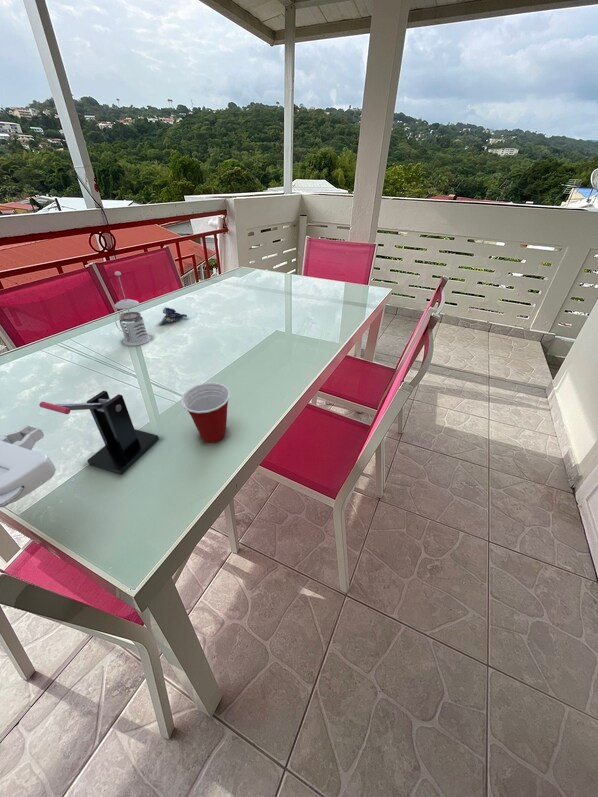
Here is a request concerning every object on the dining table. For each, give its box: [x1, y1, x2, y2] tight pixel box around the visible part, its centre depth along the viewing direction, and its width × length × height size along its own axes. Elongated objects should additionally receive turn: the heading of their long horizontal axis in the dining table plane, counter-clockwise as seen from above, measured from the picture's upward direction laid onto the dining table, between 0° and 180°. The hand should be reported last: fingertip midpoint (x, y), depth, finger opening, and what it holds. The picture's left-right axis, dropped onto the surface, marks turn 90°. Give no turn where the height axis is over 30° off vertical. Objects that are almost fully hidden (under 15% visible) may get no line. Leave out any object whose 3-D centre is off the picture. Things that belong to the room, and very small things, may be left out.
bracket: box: [86, 390, 159, 475], centre depth 71 cm, size 12×9×15 cm
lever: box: [39, 398, 112, 415], centre depth 63 cm, size 13×6×2 cm
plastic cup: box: [180, 381, 231, 443], centre depth 77 cm, size 11×11×12 cm
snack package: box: [158, 307, 188, 326], centre depth 140 cm, size 12×6×12 cm
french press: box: [113, 270, 152, 347], centre depth 117 cm, size 10×12×25 cm
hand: (36, 430), depth 56 cm, fingers closed
